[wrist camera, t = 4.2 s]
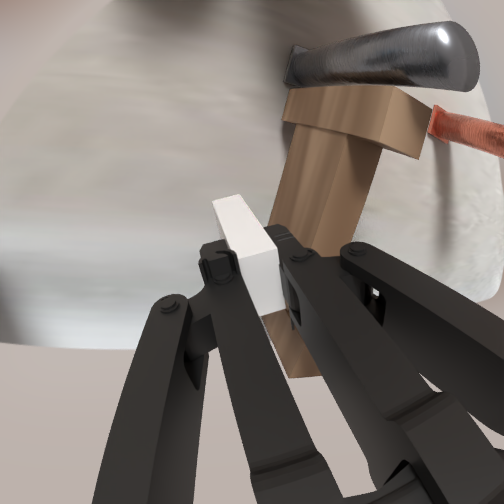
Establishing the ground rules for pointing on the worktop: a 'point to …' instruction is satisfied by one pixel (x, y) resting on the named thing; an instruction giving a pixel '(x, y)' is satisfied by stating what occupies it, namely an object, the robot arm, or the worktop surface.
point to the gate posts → (406, 73)
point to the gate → (335, 177)
